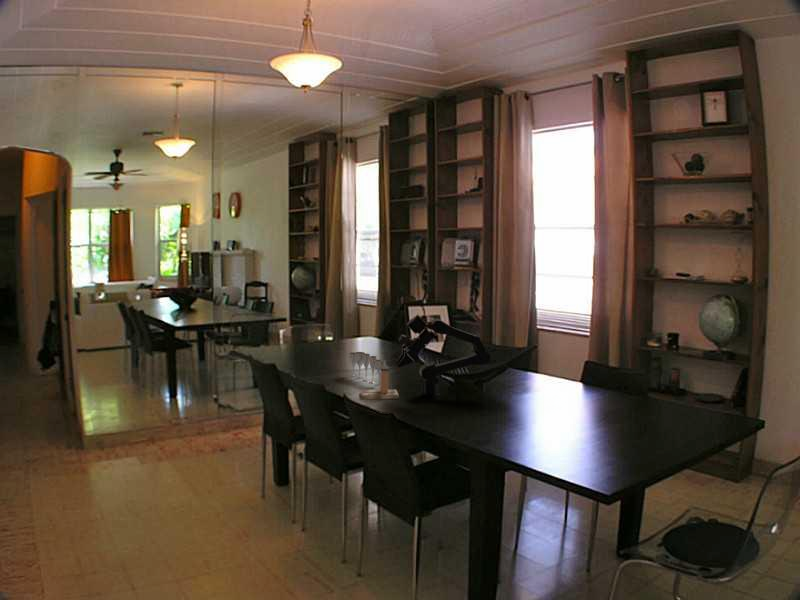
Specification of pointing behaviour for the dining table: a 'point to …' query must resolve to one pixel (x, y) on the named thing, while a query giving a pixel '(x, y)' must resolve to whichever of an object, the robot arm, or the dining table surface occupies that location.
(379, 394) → the fader console
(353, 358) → the goblet set
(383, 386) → the fader tab
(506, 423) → the dining table surface
